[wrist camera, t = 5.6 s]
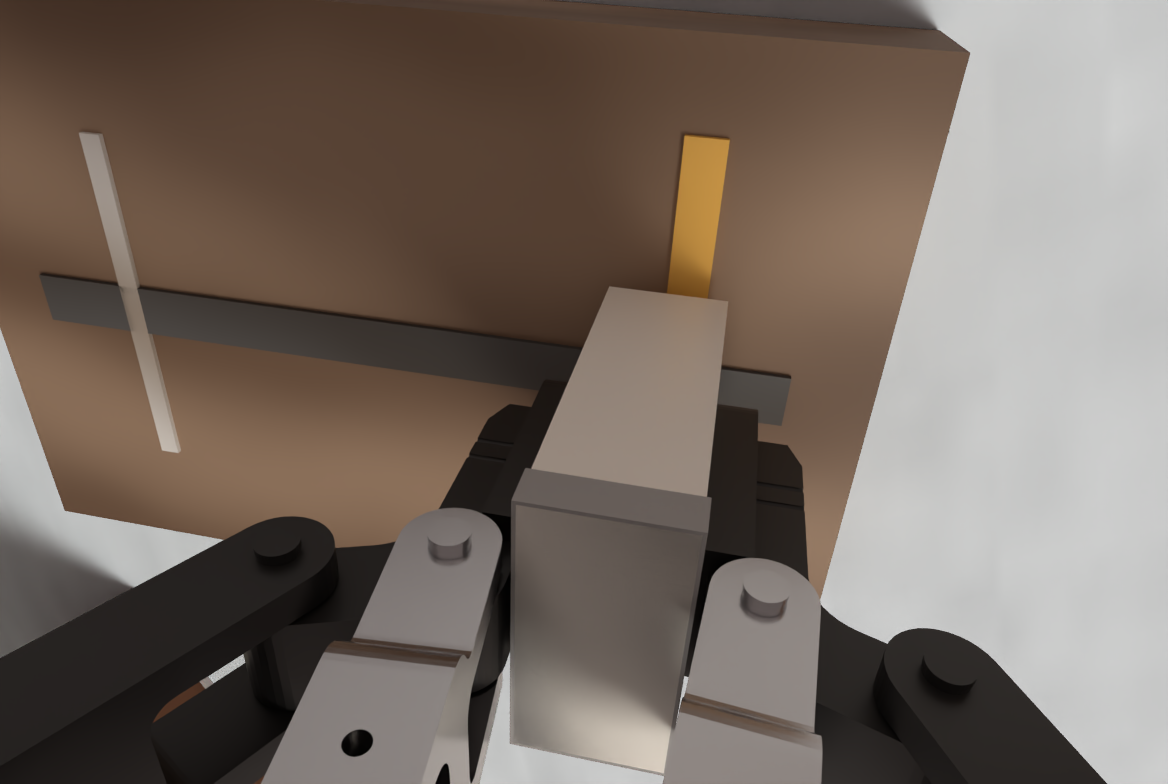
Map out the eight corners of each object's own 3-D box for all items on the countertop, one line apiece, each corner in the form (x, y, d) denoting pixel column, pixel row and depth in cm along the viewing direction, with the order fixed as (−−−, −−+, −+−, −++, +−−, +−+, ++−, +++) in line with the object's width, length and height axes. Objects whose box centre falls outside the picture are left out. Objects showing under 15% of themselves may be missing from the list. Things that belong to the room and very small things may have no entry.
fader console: (-11, -44, 16) (-134, -36, 14) (939, 30, 14) (971, 54, 11) (131, 453, 22) (62, 513, 20) (803, 567, 20) (807, 649, 18)
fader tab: (606, 282, 14) (510, 499, 9) (731, 299, 14) (708, 533, 8) (593, 477, 16) (510, 743, 11) (700, 495, 16) (666, 776, 11)
